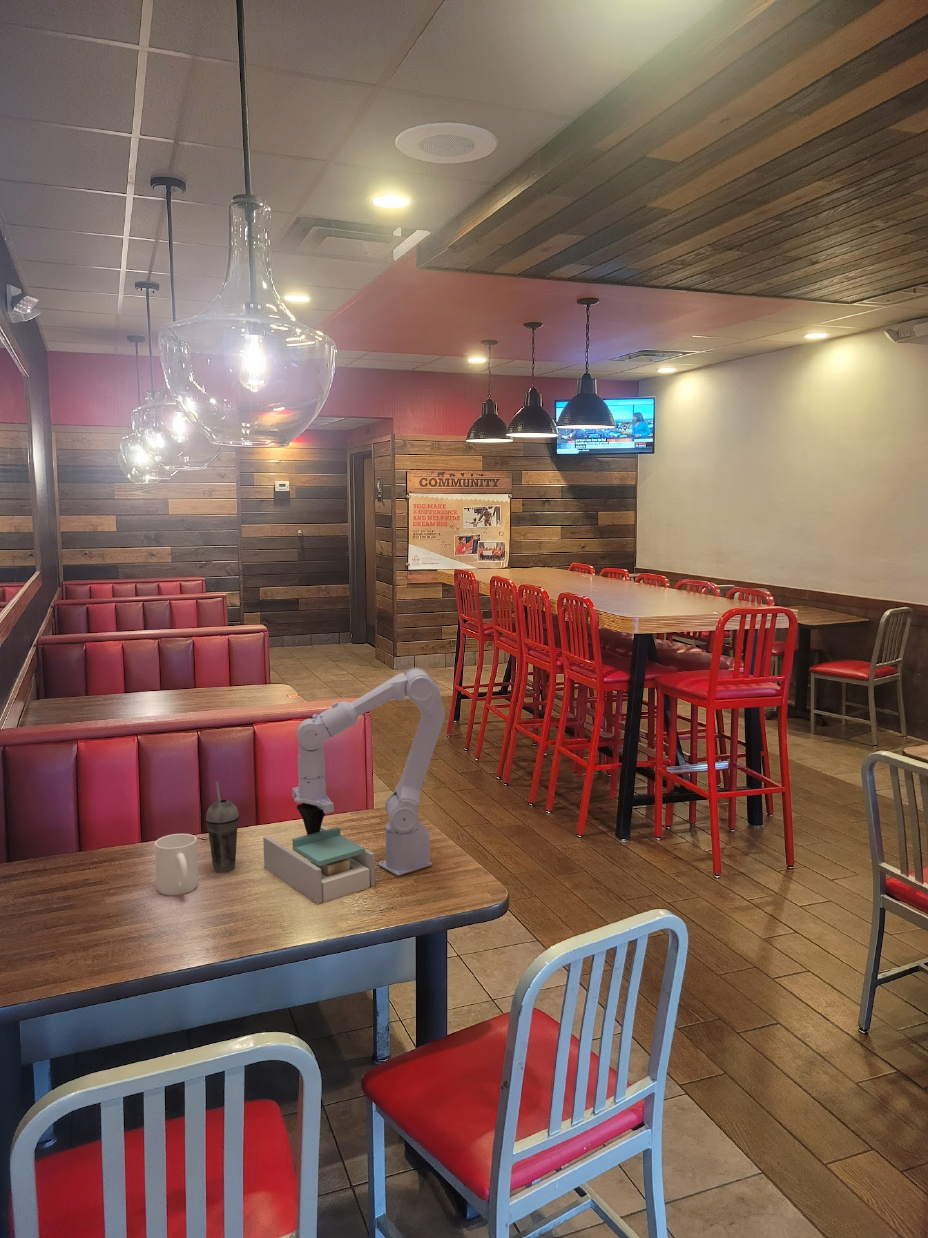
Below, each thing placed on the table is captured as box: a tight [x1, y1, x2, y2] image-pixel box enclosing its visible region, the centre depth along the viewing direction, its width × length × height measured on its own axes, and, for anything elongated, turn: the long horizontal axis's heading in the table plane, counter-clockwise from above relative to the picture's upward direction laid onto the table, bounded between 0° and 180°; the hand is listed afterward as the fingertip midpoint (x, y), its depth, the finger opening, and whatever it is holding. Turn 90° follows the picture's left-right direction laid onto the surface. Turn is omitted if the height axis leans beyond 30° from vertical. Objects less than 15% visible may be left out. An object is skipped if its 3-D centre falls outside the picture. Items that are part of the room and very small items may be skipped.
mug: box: [154, 833, 199, 897], centre depth 179 cm, size 12×8×10 cm
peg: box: [317, 858, 350, 877], centre depth 181 cm, size 5×5×6 cm
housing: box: [263, 824, 376, 905], centre depth 186 cm, size 14×24×7 cm, turn 39°
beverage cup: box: [204, 781, 240, 874], centre depth 189 cm, size 7×7×20 cm
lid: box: [292, 826, 366, 866], centre depth 182 cm, size 11×11×2 cm
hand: (313, 836), depth 187 cm, fingers closed
